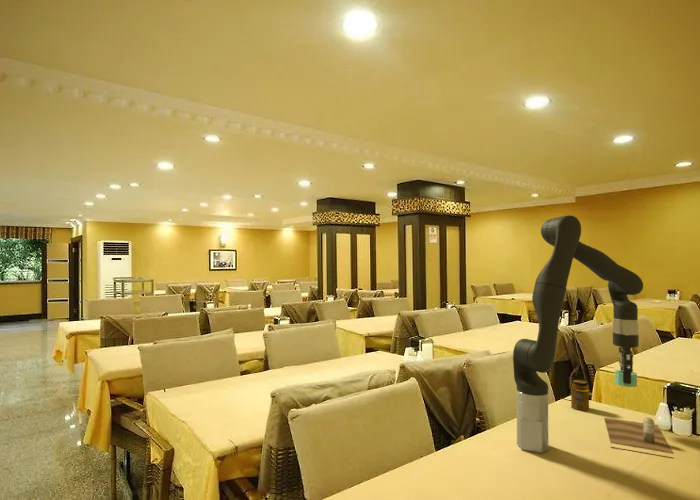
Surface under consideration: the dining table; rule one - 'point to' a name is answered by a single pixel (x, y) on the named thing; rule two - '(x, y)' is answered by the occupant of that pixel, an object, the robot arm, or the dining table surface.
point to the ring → (620, 379)
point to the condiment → (580, 395)
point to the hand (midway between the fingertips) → (625, 380)
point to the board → (637, 435)
